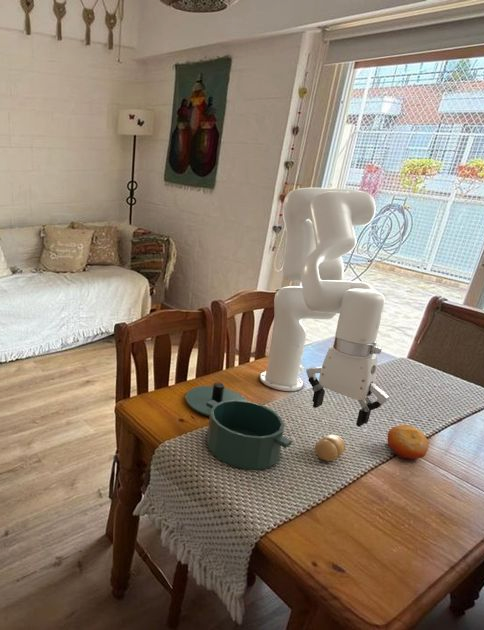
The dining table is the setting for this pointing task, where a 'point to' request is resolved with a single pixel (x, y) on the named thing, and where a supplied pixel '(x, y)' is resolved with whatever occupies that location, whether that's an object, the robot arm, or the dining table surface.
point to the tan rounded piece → (330, 447)
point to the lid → (210, 397)
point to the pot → (245, 434)
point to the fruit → (407, 442)
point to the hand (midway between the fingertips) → (338, 414)
